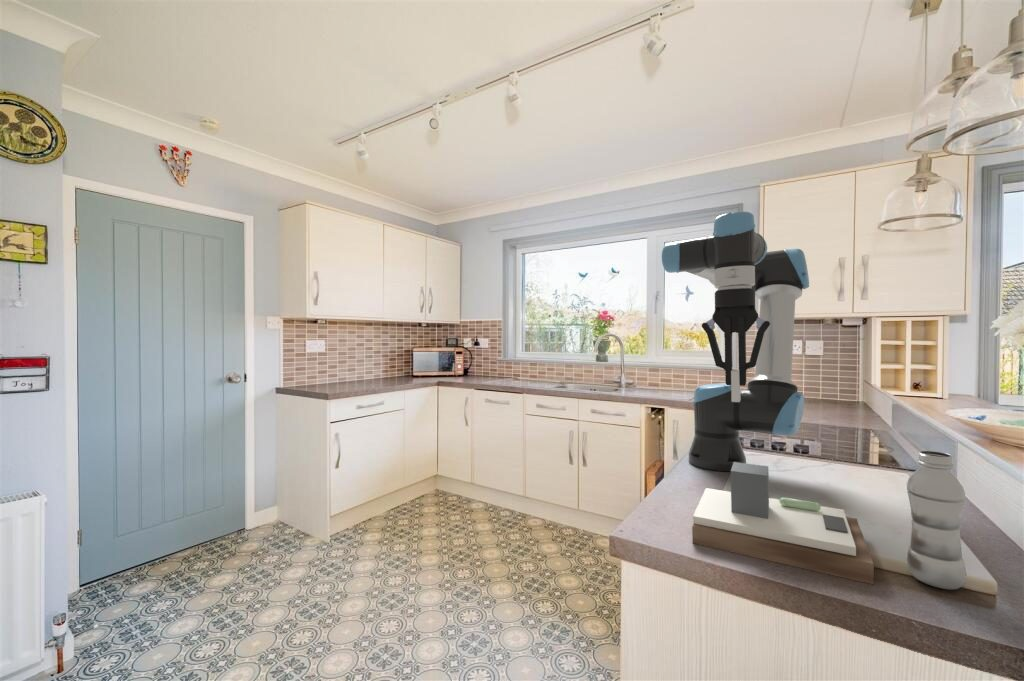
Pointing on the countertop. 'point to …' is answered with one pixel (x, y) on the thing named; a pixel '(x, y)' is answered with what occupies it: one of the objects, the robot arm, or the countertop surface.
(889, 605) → the countertop surface
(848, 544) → the plate
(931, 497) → the plastic bottle
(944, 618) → the countertop surface
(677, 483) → the countertop surface
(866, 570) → the walnut base
